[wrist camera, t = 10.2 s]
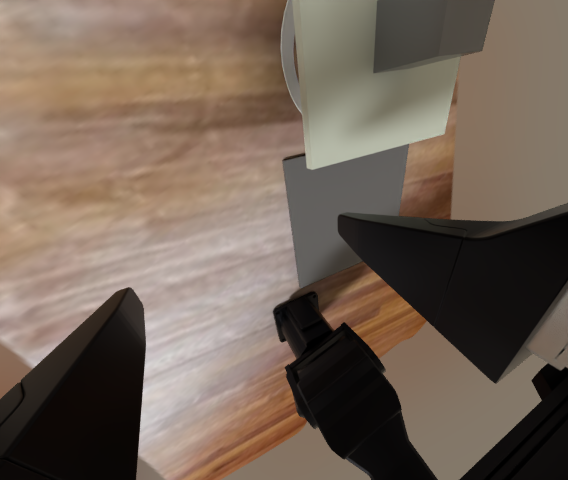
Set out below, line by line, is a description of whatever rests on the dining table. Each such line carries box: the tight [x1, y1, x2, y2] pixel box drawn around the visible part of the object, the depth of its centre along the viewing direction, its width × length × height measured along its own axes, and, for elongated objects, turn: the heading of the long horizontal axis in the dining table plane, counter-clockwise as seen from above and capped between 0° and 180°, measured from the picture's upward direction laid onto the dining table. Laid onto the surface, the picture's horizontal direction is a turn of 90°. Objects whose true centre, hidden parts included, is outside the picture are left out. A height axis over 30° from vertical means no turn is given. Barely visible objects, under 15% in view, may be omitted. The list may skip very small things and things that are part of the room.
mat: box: [282, 144, 409, 288], centre depth 27 cm, size 16×16×1 cm
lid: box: [292, 0, 495, 170], centre depth 13 cm, size 14×14×5 cm
